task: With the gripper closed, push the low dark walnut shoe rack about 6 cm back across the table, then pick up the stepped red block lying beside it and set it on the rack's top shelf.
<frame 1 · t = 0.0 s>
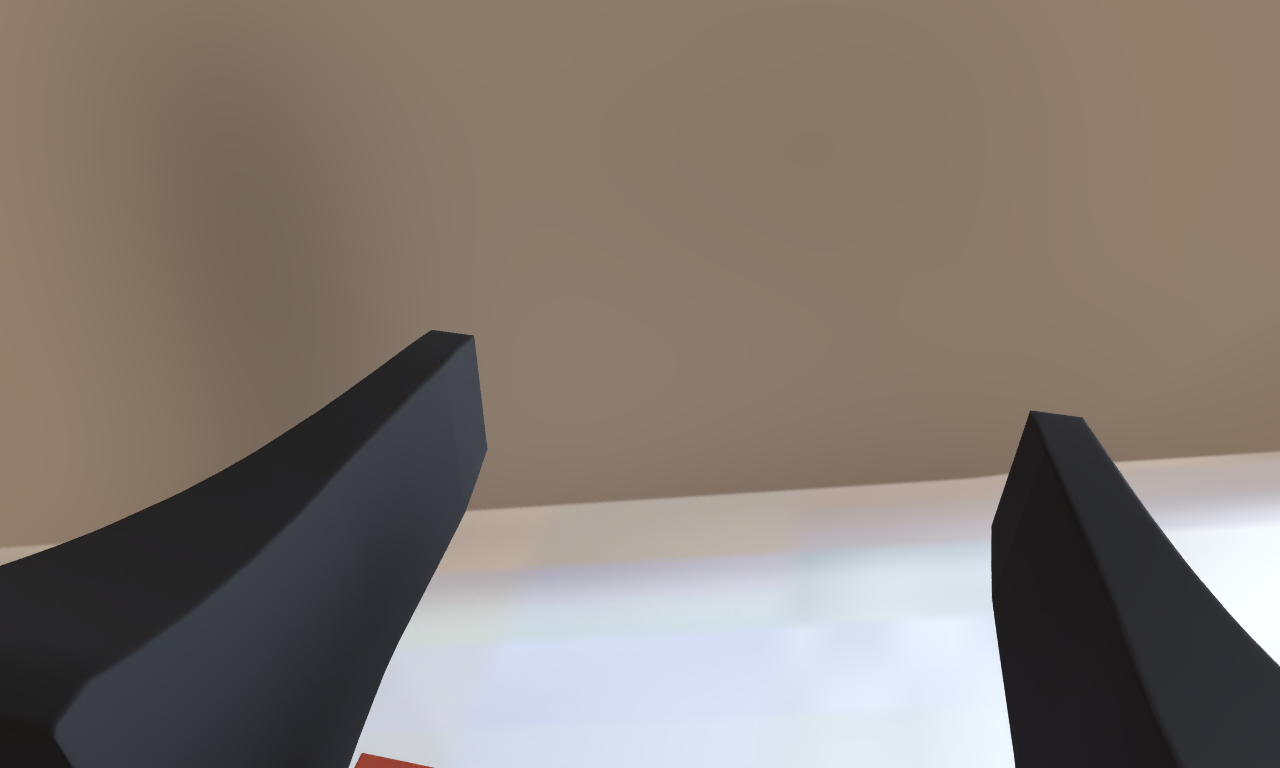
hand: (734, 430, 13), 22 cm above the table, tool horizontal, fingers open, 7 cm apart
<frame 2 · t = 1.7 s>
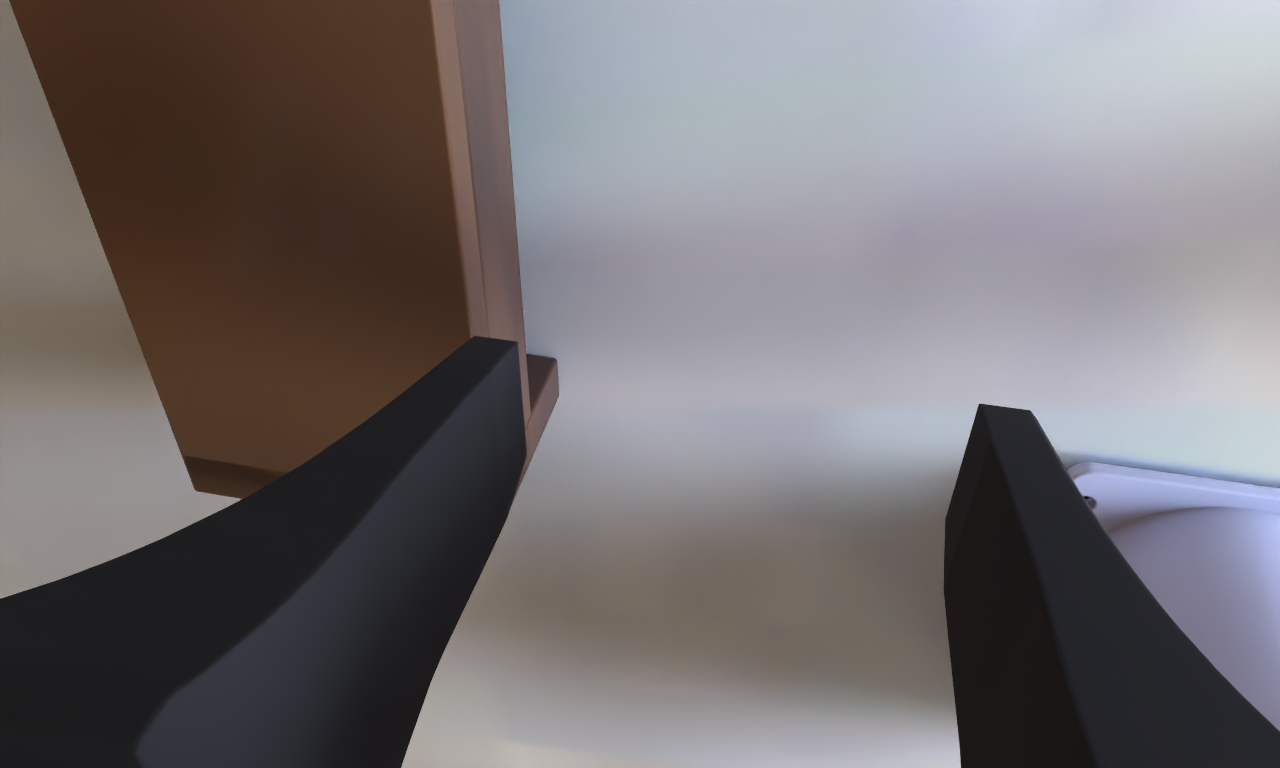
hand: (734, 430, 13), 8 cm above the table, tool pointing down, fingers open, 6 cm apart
shoe rack: (385, 115, 21), on the table
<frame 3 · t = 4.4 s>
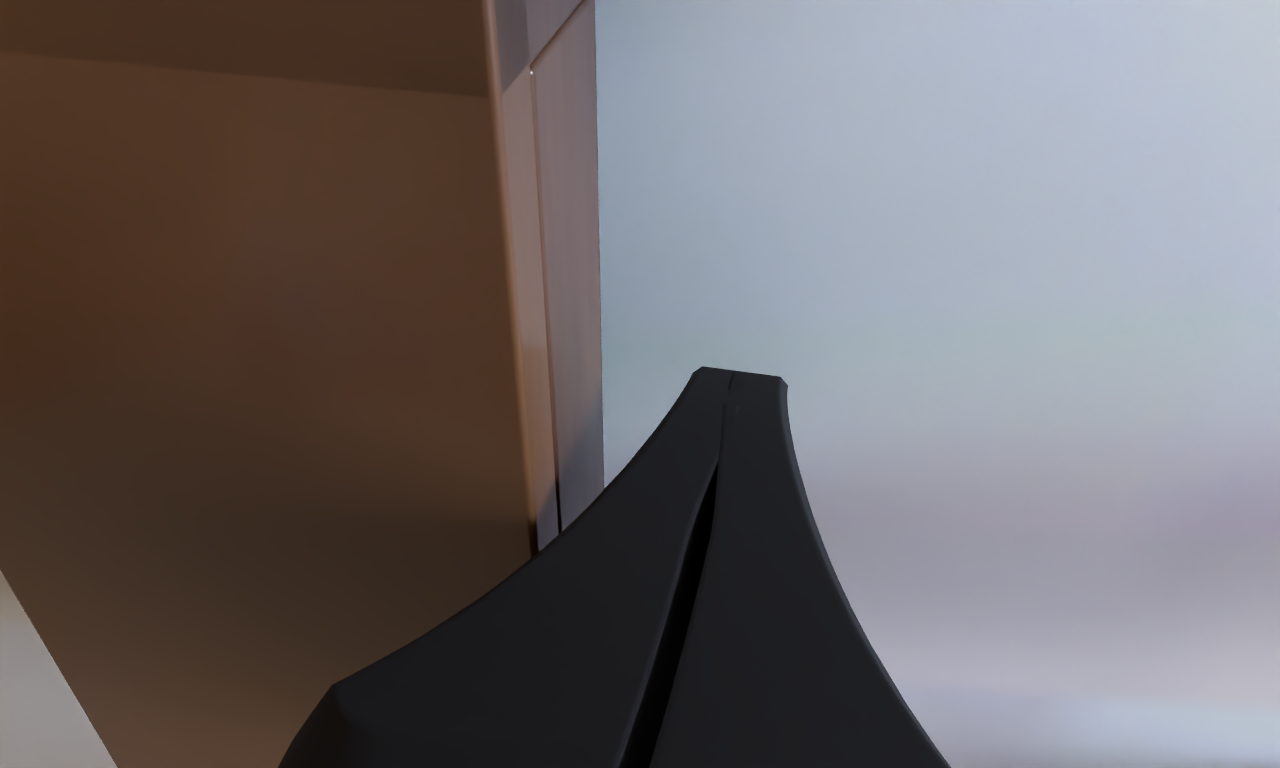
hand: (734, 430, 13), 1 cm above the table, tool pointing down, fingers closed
shoe rack: (413, 324, 15), on the table, touching gripper
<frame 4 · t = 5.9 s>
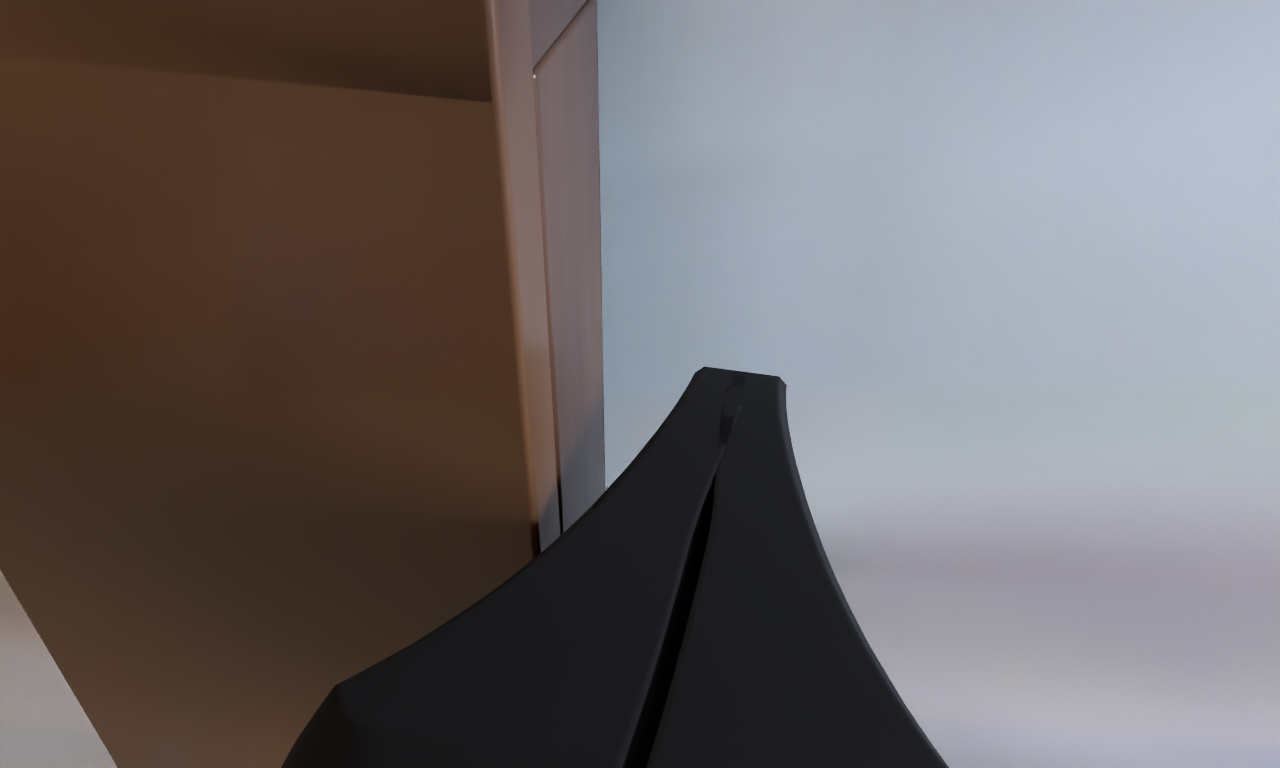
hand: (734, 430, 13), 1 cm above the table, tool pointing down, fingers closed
shoe rack: (414, 326, 15), on the table, touching gripper
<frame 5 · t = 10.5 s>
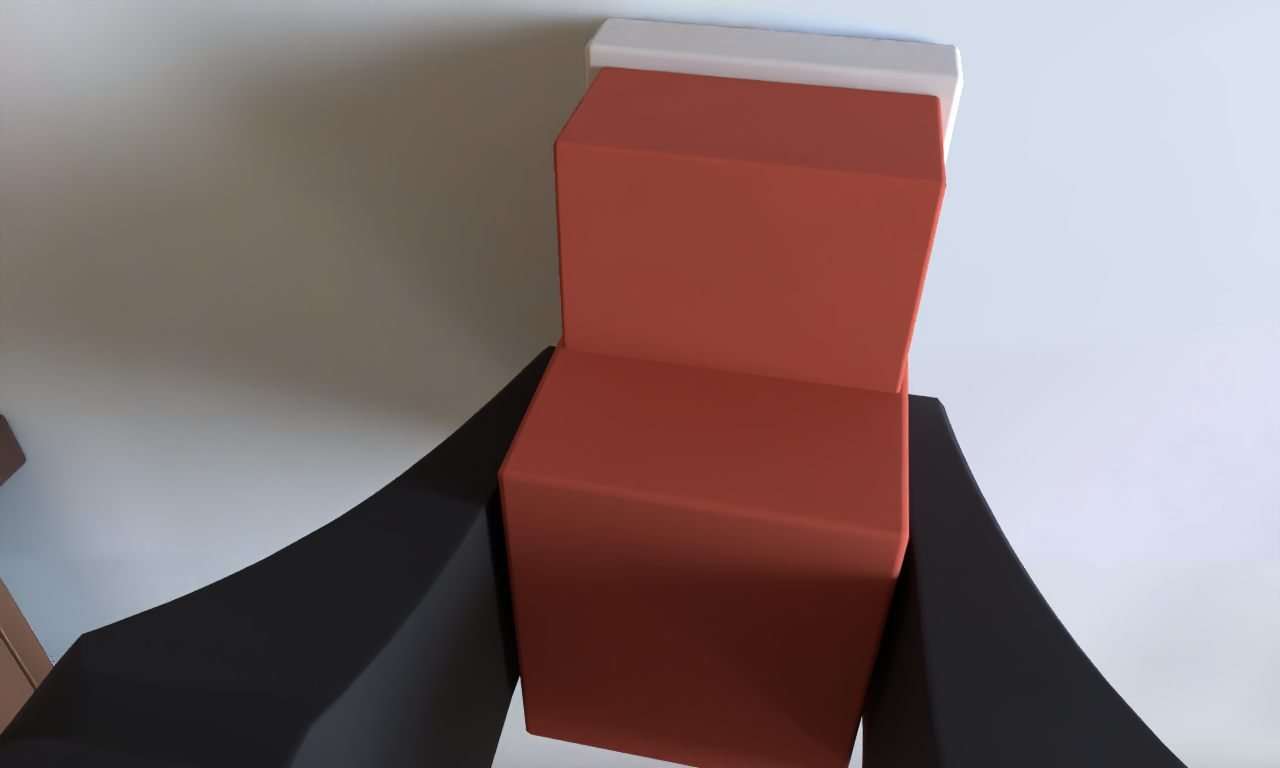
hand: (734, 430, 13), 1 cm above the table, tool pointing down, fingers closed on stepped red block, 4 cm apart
stepped red block: (752, 296, 13), on the table, touching gripper
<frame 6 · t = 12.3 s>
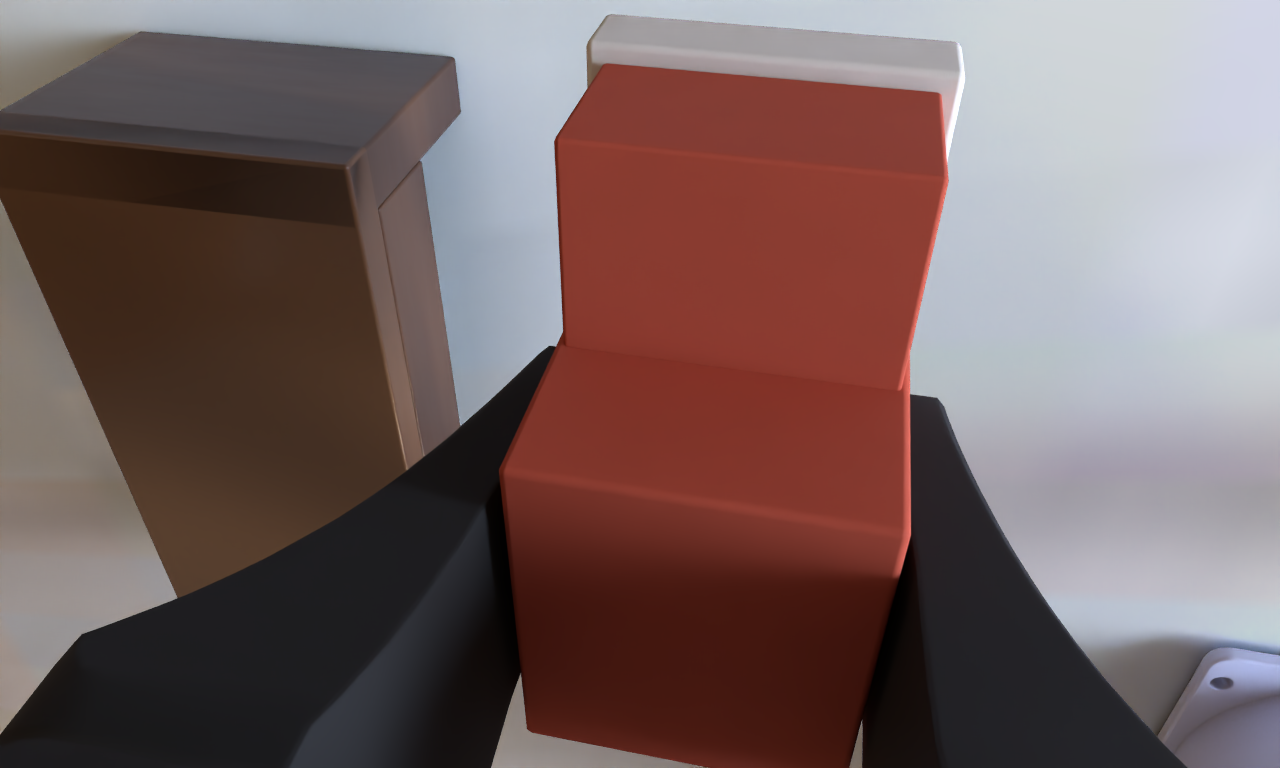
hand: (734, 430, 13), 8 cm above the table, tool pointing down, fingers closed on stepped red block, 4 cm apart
shoe rack: (353, 323, 25), on the table
stepped red block: (753, 294, 13), point 7 cm above the table, touching gripper
when the fingers open (6 cm above the table, at t = 14.4 s): stepped red block stays where it is, resting on shoe rack.
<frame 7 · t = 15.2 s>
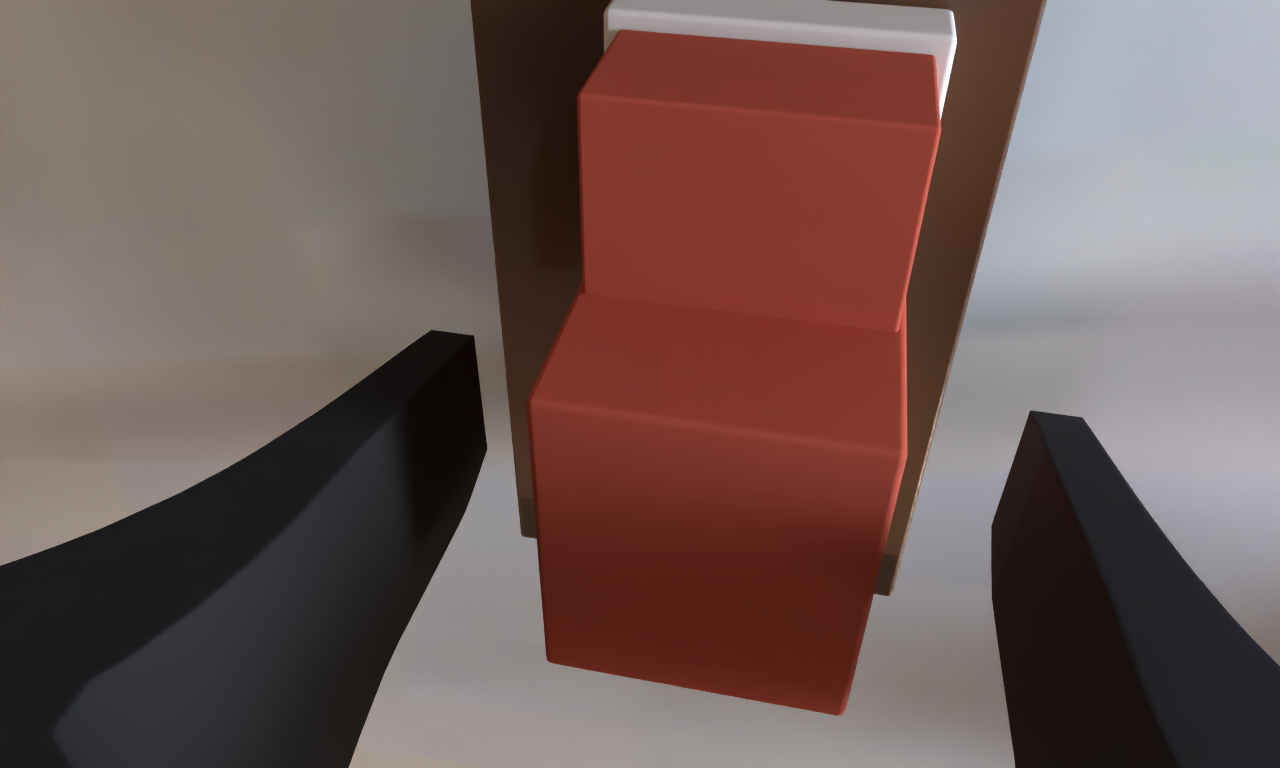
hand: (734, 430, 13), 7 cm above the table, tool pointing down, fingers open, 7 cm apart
shoe rack: (761, 102, 18), on the table, touching stepped red block
stepped red block: (758, 254, 14), point 5 cm above the table, touching shoe rack
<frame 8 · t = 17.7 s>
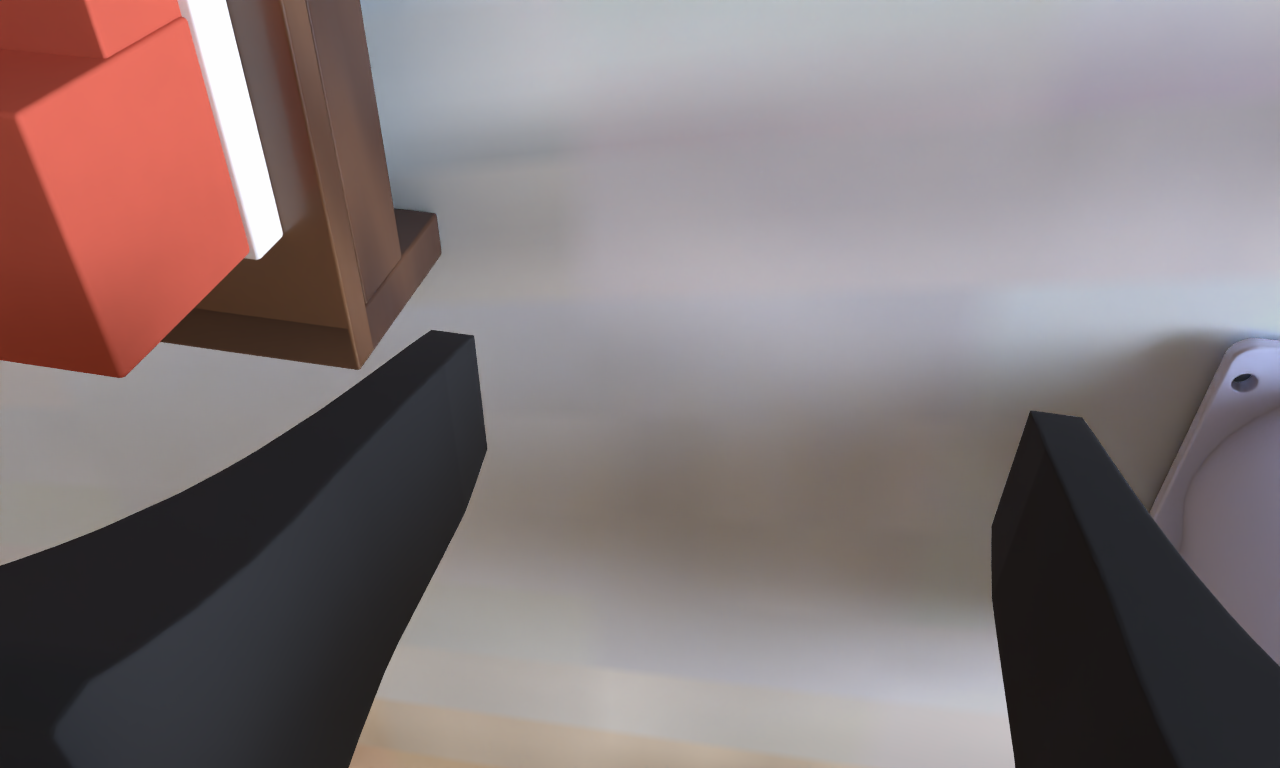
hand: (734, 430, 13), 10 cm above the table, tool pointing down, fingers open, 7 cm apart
stepped red block: (138, 45, 18), point 5 cm above the table, touching shoe rack
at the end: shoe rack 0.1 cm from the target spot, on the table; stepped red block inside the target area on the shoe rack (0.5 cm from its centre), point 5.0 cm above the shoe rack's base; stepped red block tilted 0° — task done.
